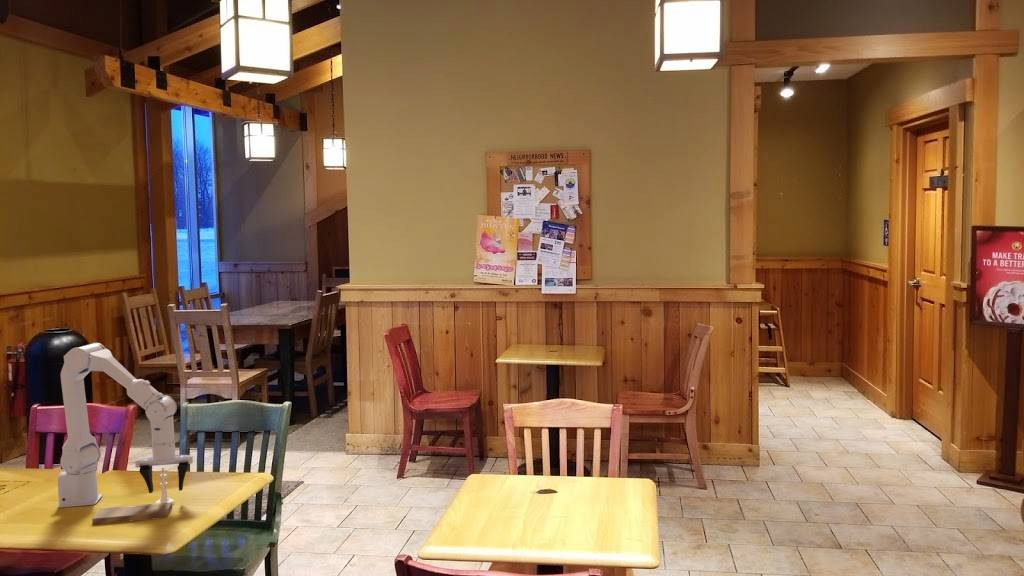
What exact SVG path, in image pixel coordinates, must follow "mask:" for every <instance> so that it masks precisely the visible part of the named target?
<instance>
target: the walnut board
mask: <svg viewBox="0 0 1024 576" xmlns="http://www.w3.org/2000/svg"><path fill="white" fill-rule="evenodd" d="M172 509H173V505H172V502H169V503H158V504H155V503H148V504H147V503H146V504H137V505H135V504H134V505H127V506H126V505H123V506H114V507H113V506H112V507H102V508H101V507H100V508H99V509H98V511H97V512H96V513H95V514H94V515H93V517H92V519H91V521H92V522H91V523H92V525H103V524H111V523H110V522H114V523H122V522H121V521H125V522H131V521H130V520H136V521H143V520H142V519H147V520H154V519H153V518H159V519H166V518H168V517H169V515H168V514H170V513H171V511H172ZM118 521H119V522H118ZM102 523H103V524H102Z"/></svg>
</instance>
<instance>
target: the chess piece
mask: <svg viewBox="0 0 1024 576" xmlns="http://www.w3.org/2000/svg"><path fill="white" fill-rule="evenodd" d="M159 473H161V474H160V475H158V476H159V480H160V481H161V482H160V483H159V486H161V495H160V496H161V497H160V498H159V499H158V500H156V501H155V503H154V504H158V503H169V502H172V504H173V505H174V504H175V500H174V499H173V498H171V497H170V496H169V495H168V491H167V485H169V483H168V482H167V478H168V475H167V474H166V473H167V469H166V470H165V468H164V467H162V468H161V470H159Z"/></svg>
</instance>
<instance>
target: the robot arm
mask: <svg viewBox="0 0 1024 576" xmlns="http://www.w3.org/2000/svg"><path fill="white" fill-rule="evenodd" d="M63 361H64V363H63V366H62V368H61V371H60V383H61V392H62V400H63V407H64V408H63V409H64V415H65V416H64V417H65V424H66V431H67V432H66V433H67V434H66V435H67V439H66V440H65V442H64V443H63V446H62V447H61V449H62V450H61V451H62V455H61V457H60V466H61V468H62V469H63V471H61V472H60V473H59V474H58V477H57V494H58V495H57V496H58V508H68V507H79V506H80V507H81V506H93V505H96V504H97V503H98V502H99V501H100V500H101V498H102V497H103V494H102V493H100V494H99V492H98V490H99V489H98V474H97V468H98V462H99V461H100V459H101V456H102V452H101V449H100V447H99V445H98V443H97V439H96V437H95V436H93V435H92V434H91V431H90V424H89V423H90V422H89V413H88V406H87V398H86V390H85V389H86V387H85V380H84V379H85V377H86V376H87V375H88V374H89V373H90V372H104V373H105V374H107V375H108V376H109V377H111V378H112V379H113V380H115V381H116V382H117V383H118V384H120V385H121V386H123V387H124V388H125V389H126V395H127V396H128V397H129V398H130V399H131V400H133V401H134V402H135V403H136V404H137V405H138V406H139V407H141V408H142V409H143V410H145V415H146V418H147V419H148V420H149V423H150V429H151V430H150V431H151V446H152V447H151V448H152V456H149V457H143V458H136V459H135V461H134V462H135V463H134V464H135V468H136V469H138V468H139V474H140V475H141V476H142V478H143V480H144V482H145V484H146V486H147V488H148V493H149V494H152V493H153V492H154V482H153V467H154V466H156V467H157V466H166V465H168V466H169V465H177V476H178V491H179V492H181V491H183V490H184V480H185V478H186V477H185V476H186V473H187V470H188V467H189V465H192V464H193V462H194V457H193V456H194V455H193V454H176V444H175V427H174V426H175V424H174V415H175V414H176V412H177V409H178V408H177V407H178V406H177V402H176V401H175V399H173V397H172V396H170V395H164V394H163V393H162V392H159V391H158V390H157V389H156V388H154V387H153V386H152V385H151V382H150V381H149V380H148V379H147V380H145V379H143V378H139V379H138V378H136V377H135V376H134V375H132V373H130V372H129V371H128V370H127V368H125V367H124V366H123V365H122V364H121V363H120V362H119V361H118V360H117V359H116V358H115V357H114V356H113V354H112V352H111V350H110V349H108V348H106V347H105V346H104V345H103V344H102V343H100V342H92V343H90V344H86V345H82V346H79V347H73V348H71V349H70V350H68V352H66V354H65V355H63Z"/></svg>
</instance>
